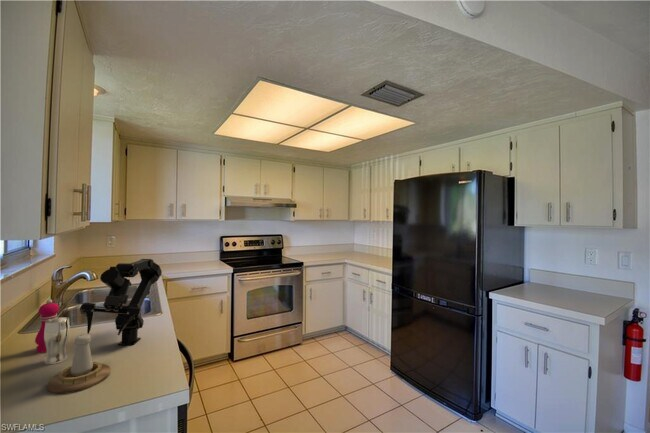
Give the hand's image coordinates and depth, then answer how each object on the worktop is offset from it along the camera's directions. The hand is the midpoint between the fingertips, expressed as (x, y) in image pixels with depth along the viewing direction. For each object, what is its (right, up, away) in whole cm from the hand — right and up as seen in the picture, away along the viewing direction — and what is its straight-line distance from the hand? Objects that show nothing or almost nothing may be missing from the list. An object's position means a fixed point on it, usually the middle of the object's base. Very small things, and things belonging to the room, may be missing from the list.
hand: (103, 334), depth 106 cm
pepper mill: (-30, -10, +10) cm, 34 cm away
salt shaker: (0, -10, -9) cm, 14 cm away
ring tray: (0, -11, -10) cm, 15 cm away
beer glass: (-19, -11, +2) cm, 22 cm away
